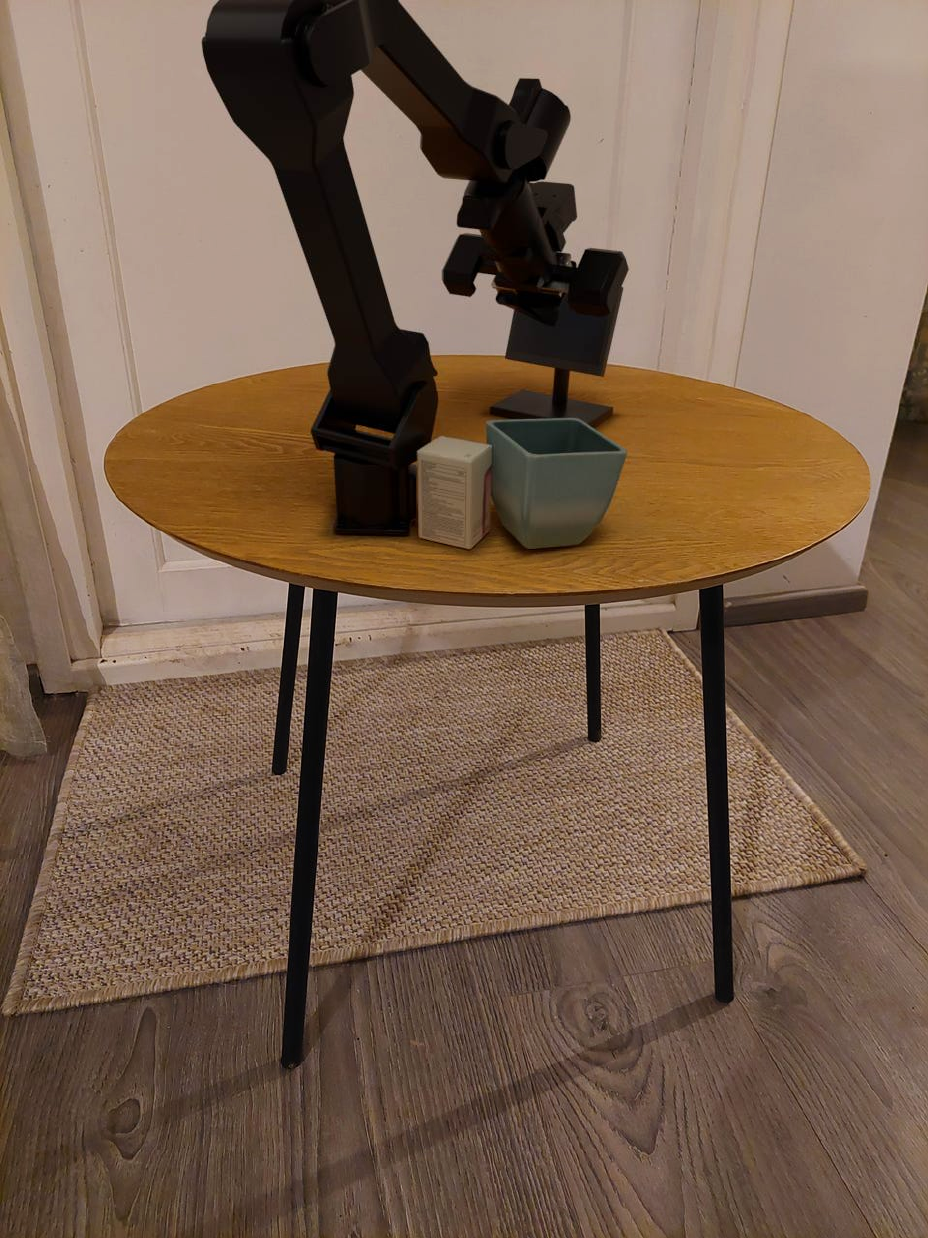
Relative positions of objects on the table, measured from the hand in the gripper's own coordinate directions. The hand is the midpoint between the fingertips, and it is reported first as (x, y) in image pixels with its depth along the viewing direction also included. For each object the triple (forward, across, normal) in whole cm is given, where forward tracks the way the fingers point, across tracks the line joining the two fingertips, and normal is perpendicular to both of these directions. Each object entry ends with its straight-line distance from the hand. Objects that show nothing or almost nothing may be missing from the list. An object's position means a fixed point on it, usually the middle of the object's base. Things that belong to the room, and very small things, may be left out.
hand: (553, 322), depth 99 cm
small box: (-15, -7, +31) cm, 35 cm away
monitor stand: (+9, 0, +6) cm, 11 cm away
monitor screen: (+4, 0, +3) cm, 5 cm away
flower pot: (-12, -14, +28) cm, 34 cm away
